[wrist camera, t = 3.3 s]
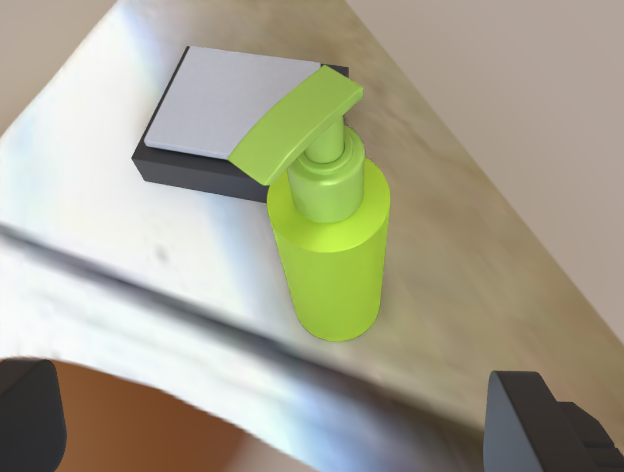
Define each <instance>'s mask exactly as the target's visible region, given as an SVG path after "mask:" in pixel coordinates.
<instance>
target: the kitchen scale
mask: <svg viewBox="0 0 624 472" xmlns="http://www.w3.org/2000/svg"><path fill="white" fill-rule="evenodd" d="M323 65H326V66H328V67H330V68H331V69H333V70H335V71H337V72H338V73H340V74H342V75H343V76H345V77H347V78H349V69H348V67H342V66H335V65H327V64H320V63H319V62H311V61H303V60H296V59H288V58H280V57H273V56H265V55H258V54H250V53H242V52H235V51H227V50H219V49H212V48H204V47H196V46H187V47H186V49H185V51H184V53H183V55H182V57H181V59H180V61H179V63H178V65H177V68H176V70H175V72H174V74H173V76H172V78H171V80H170V82H169V84H168V86H167V88H166V90H165V92H164V94H163V96H162V98H161V100H160V102H159V104H158V106H157V108H156V110H155V112H154V114H153V116H152V118H151V120H150V122H149V124H148V126H147V128H146V130H145V132H144V134H143V136H142V138H141V140H140V142H139V144H138V146H137V148H136V150H135V152H134V154H133V156H132V158H131V159H132V160H133V162H134V164H135V165H136V167H137V169H138V170H139V172H140V174H141V175H142V177H143V179H144V180H145V181H149V182H155V183H160V184H166V185H171V186H177V187H182V188H188V189H193V190H199V191H204V192H210V193H215V194H221V195H226V196H232V197H237V198H243V199H248V200H254V201H259V202H265V203H267V194H268V190H269V187H270V185H262V184H260V183H259V182H257V181H256V180H255V179H253V178H252V177H250V176H249V175H248V174H246V173H245V172H243V171H242V170H241V169H239V168H238V167H237V166H235V165H234V164H233V163H231V162H230V161H229V160H228V156H229V155H230V154H231V152H232V151H233V150H234V148H235V147H236V146H237V145H238V144H239V142H240V141H241V140H242V139H243V138H244V136H245V135H246V134H247V133H248V132H249V131H250V129H251V128H252V127H253V126H254V125H255V124H256V123H257V122H258V121H259V120H260V119H261V118H262V117H263V116H264V115H265V114H266V113H267V112H268V111H269V110H270V109H271V108H272V107H273V106H274V105H275V104H276V103H277V102H278V101H280V100H281V99H282V98H283V97H284V96H285V95H287V94H288V93H289V92H290V91H291V90H293V89H294V88H295V87H296V86H298V85H299V84H300V83H301V82H303V81H304V80H305V79H306V78H308V77H309V76H310V75H312V74H313V73H314V72H315V71H317V70H318V69H319V68H321V67H322V66H323Z"/></svg>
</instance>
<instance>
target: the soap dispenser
mask: <svg viewBox="0 0 624 472" xmlns="http://www.w3.org/2000/svg"><path fill="white" fill-rule="evenodd" d="M362 98H363V87H362V86H361V85H359V84H357V83H355V82H354V81H352V80H350V79H349V78H347V77H345V76H343V75H342V74H340V73H338V72H337V71H335V70H333V69H331V68H330V67H328V66H326V65H323V66H322V67H321V68H319V69H318V70H317V71H315V72H314V73H313V74H312V75H310V76H309V77H308V78H306V79H305V80H304V81H303V82H301V83H300V84H299V85H298V86H296V87H295V88H294V89H293V90H291V91H290V92H289V93H288V94H287V95H285V96H284V97H283V98H282V99H281V100H280V101H278V102H277V103H276V104H275V105H274V106H273V107H272V108H271V109H270V110H269V111H268V112H267V113H266V114H265V115H264V116H263V117H262V118H261V119H260V120H259V121H258V122H257V123H256V124H255V125H254V126H253V127H252V128H251V129H250V131H249V132H248V133H247V134H246V135H245V136H244V138H243V139H242V140H241V141H240V142H239V144H238V145H237V146H236V147H235V148H234V150H233V151H232V152H231V154H230V155H229V156H228V160H229V161H230V162H231V163H233V164H234V165H235V166H237V167H238V168H239V169H241V170H242V171H243V172H245V173H246V174H248V175H249V176H250V177H252V178H253V179H255V180H256V181H257V182H259V183H260V184H262V185H270V187H269V190H268V194H267V210H268V214H269V218H270V222H271V225H272V229H273V232H274V236H275V240H276V243H277V247H278V250H279V254H280V258H281V261H282V265H283V268H284V272H285V276H286V279H287V283H288V286H289V290H290V294H291V297H292V301H293V304H294V308H295V312H296V315H297V317H298V319H299V321H300V323H301V324H302V325H303V327H304V328H305V329H306V330H307V331H309V332H310V333H311V334H313V335H314V336H316V337H318V338H321V339H324V340H327V341H346V340H350V339H353V338H355V337H358V336H359V335H361V334H363V333H364V332H365V331H366V330H368V329H369V327H370V326H371V325H372V324H373V322H374V321H375V319H376V317H377V315H378V312H379V308H380V299H381V289H382V279H383V270H384V260H385V250H386V240H387V230H388V220H389V211H390V190H389V186H388V183H387V181H386V178H385V177H384V175H383V173H382V172H381V171H380V169H379V168H378V167H377V166H376V165H375V164H374V163H373V162H372V161H370V160H369V159H367V158H366V157H365V152H364V146H363V143H362V140H361V139H360V137H359V136H358V134H357V133H356V132H355V131H354V130H352V129H351V128H350V127H348V126H346V125H344V123H343V114H345V113H346V112H347V111H348V110H349V109H350V108H351V107H353V106H354V105H355V104H356V103H357V102H358V101H359V100H361V99H362Z"/></svg>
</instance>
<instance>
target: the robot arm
mask: <svg viewBox="0 0 624 472" xmlns="http://www.w3.org/2000/svg"><path fill="white" fill-rule="evenodd" d="M66 439H67V433H66V425H65V419H64V413H63V407H62V401H61V395H60V389H59V384H58V378H57V372H56V369H55V366H54V365H53V363H52V362H51V361H49V360H46V359H6V360H3V361H2V362H1V363H0V472H54V471H55V470H56V469H57V467H58V466H59V464H60V462H61V460H62V457H63V455H64V452H65V447H66ZM483 460H484V470H485V472H624V457H623V455H622V454H621V452H620V451H619V450H618V448H615V446H614V443H613V441H612V440H611V438H610V437H609V435H608V434H607V433H606V431H605V430H604V428H603V427H602V426H601V424H600V423H599V421H597V420H596V419H595V418H593V417H592V416H591V415H589V414H588V413H587V412H585V411H584V410H582V409H581V408H580V407H578V406H577V405H576V404H574V403H573V402H557V401H556V400H555V398H554V396H553V395H552V393H551V392H550V390H549V388H548V387H547V385H546V384H545V382H544V380H543V379H542V377H541V376H540V374H539V373H538V372H528V371H492V372H491V374H490V378H489V384H488V396H487V408H486V420H485V432H484V445H483Z"/></svg>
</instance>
